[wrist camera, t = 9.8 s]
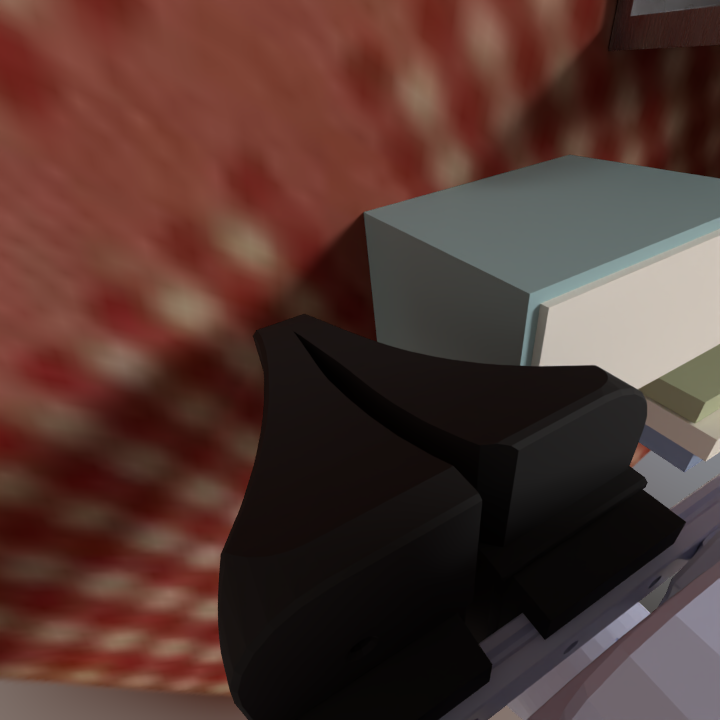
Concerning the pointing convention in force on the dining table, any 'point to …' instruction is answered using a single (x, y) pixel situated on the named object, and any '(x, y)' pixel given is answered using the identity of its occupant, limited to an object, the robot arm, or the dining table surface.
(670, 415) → the book row
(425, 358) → the robot arm
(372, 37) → the dining table surface
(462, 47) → the dining table surface
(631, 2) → the bookend
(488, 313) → the boxed book
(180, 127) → the dining table surface
